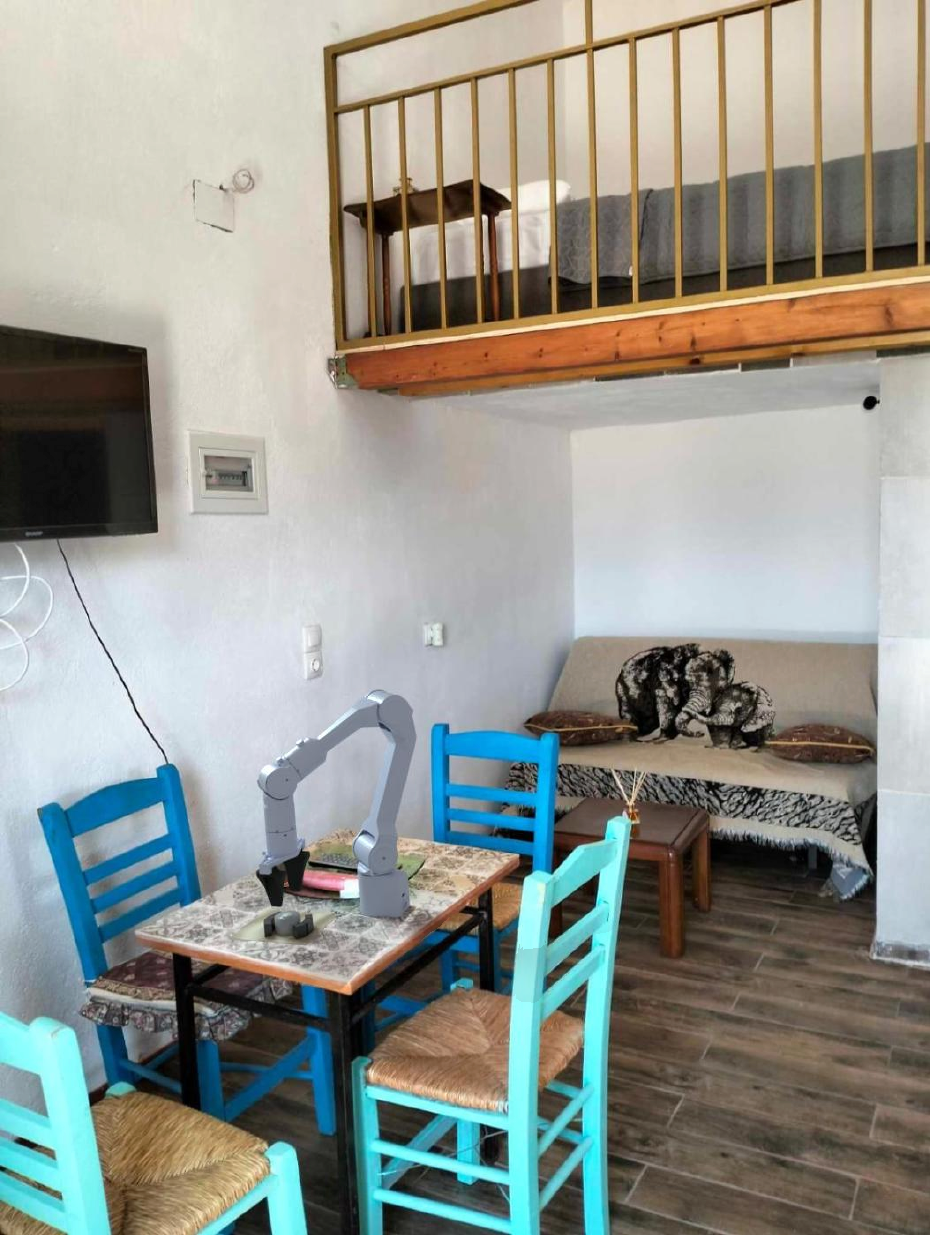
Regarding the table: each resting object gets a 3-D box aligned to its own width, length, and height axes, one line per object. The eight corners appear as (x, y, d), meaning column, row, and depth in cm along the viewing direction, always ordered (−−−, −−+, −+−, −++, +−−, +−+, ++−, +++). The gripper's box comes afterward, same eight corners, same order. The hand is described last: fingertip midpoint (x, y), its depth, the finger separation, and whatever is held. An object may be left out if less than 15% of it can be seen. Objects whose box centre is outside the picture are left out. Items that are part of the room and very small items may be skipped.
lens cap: (305, 926, 190) (304, 910, 190) (294, 937, 186) (293, 920, 185) (282, 925, 192) (281, 909, 191) (271, 935, 187) (269, 919, 187)
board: (338, 918, 195) (338, 914, 195) (305, 948, 182) (305, 944, 182) (266, 913, 200) (265, 909, 200) (229, 942, 187) (228, 938, 187)
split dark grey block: (318, 926, 190) (317, 914, 190) (303, 940, 184) (302, 927, 184) (275, 922, 193) (274, 910, 193) (259, 936, 187) (258, 924, 187)
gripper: (280, 815, 195) (285, 882, 196) (242, 839, 181) (248, 911, 182) (312, 816, 192) (318, 884, 194) (276, 841, 179) (282, 914, 180)
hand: (286, 897), depth 188 cm, fingers open, 7 cm apart
